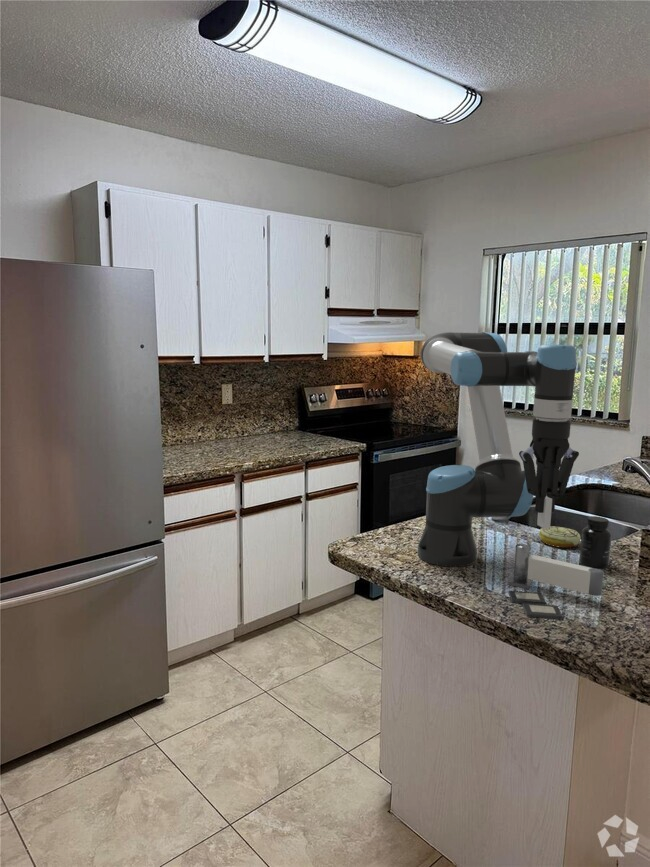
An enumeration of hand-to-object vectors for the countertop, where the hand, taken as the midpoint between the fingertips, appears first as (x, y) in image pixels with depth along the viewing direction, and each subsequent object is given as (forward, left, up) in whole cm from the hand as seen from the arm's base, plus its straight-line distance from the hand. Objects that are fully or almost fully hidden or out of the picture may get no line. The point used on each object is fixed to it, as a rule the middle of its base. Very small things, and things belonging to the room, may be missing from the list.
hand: (543, 526), depth 131 cm
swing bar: (+5, +4, -14) cm, 15 cm away
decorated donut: (-1, +39, -17) cm, 43 cm away
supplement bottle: (+9, +26, -16) cm, 32 cm away
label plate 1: (-2, -3, -16) cm, 16 cm away
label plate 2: (+2, -8, -16) cm, 18 cm away
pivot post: (-5, +5, -16) cm, 18 cm away
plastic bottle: (-20, +51, -16) cm, 57 cm away
